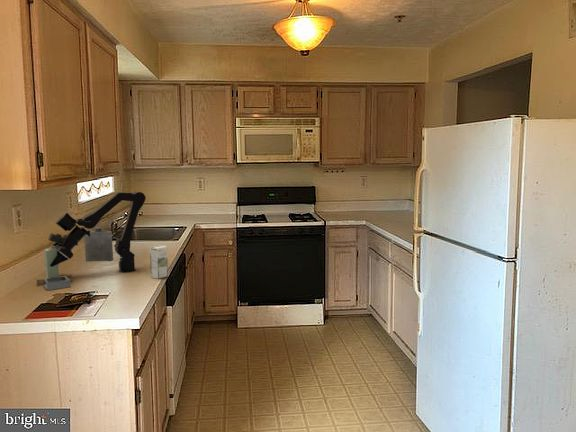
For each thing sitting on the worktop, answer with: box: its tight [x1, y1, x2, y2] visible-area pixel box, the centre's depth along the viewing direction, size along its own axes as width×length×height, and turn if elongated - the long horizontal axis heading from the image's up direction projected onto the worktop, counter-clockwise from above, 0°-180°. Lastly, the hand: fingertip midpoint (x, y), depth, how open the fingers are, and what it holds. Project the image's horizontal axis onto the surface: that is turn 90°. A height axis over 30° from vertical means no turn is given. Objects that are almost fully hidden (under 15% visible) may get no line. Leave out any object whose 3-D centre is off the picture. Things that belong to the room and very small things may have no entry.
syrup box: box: [149, 244, 169, 280], centre depth 221 cm, size 6×6×14 cm
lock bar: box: [44, 248, 60, 278], centre depth 217 cm, size 4×4×14 cm
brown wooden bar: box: [36, 274, 73, 287], centre depth 213 cm, size 14×2×2 cm, turn 125°
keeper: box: [43, 275, 71, 291], centre depth 207 cm, size 9×9×3 cm
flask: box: [83, 226, 114, 262], centre depth 257 cm, size 4×14×18 cm, turn 93°
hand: (48, 264), depth 216 cm, fingers open, 9 cm apart
